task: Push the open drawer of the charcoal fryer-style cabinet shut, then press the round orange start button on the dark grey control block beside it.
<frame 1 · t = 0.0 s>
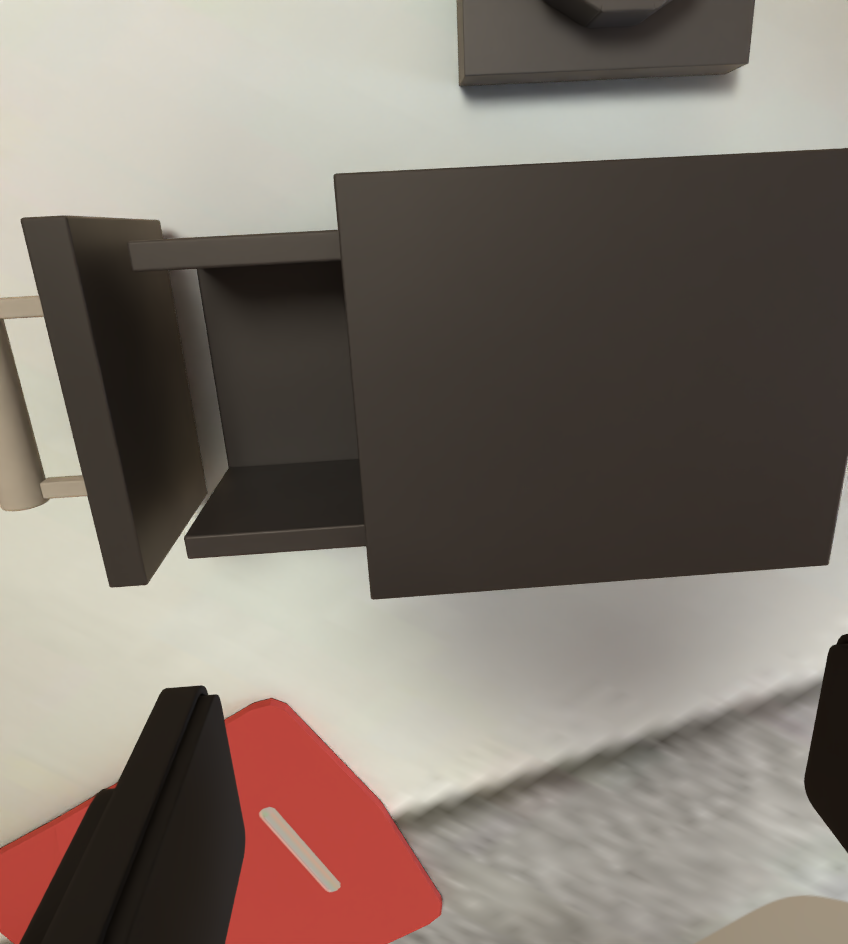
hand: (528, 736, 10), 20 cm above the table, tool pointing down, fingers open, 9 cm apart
desk lamp: (247, 863, 37), on the table
drawer: (255, 382, 23), point 5 cm above the table, slide at 7.0 cm
cabinet: (537, 341, 28), on the table
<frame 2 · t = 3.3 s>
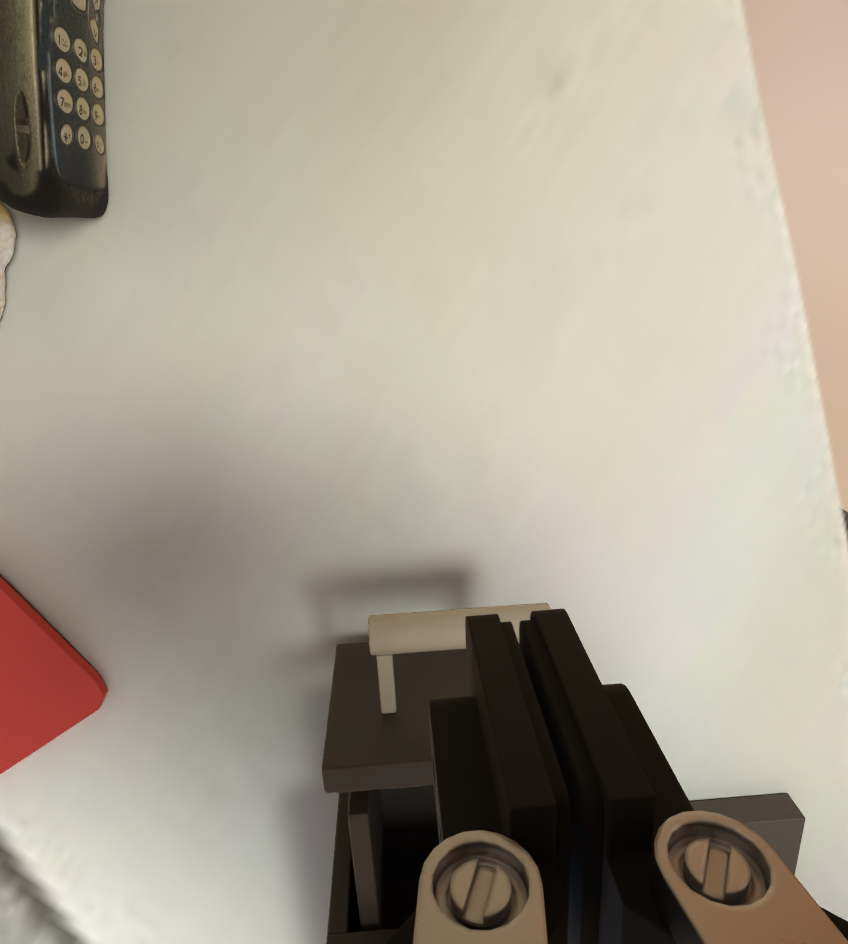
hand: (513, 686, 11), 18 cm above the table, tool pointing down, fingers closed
control block: (700, 865, 39), on the table
drawer: (463, 774, 29), point 5 cm above the table, slide at 7.0 cm
cabinet: (460, 860, 37), on the table
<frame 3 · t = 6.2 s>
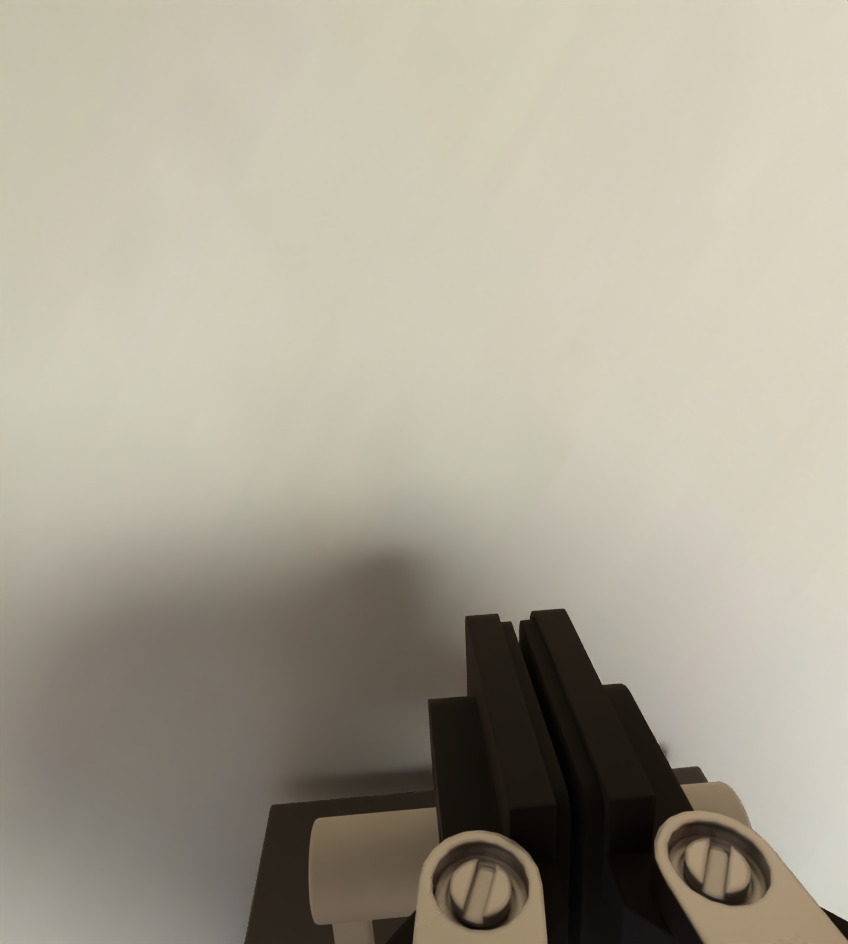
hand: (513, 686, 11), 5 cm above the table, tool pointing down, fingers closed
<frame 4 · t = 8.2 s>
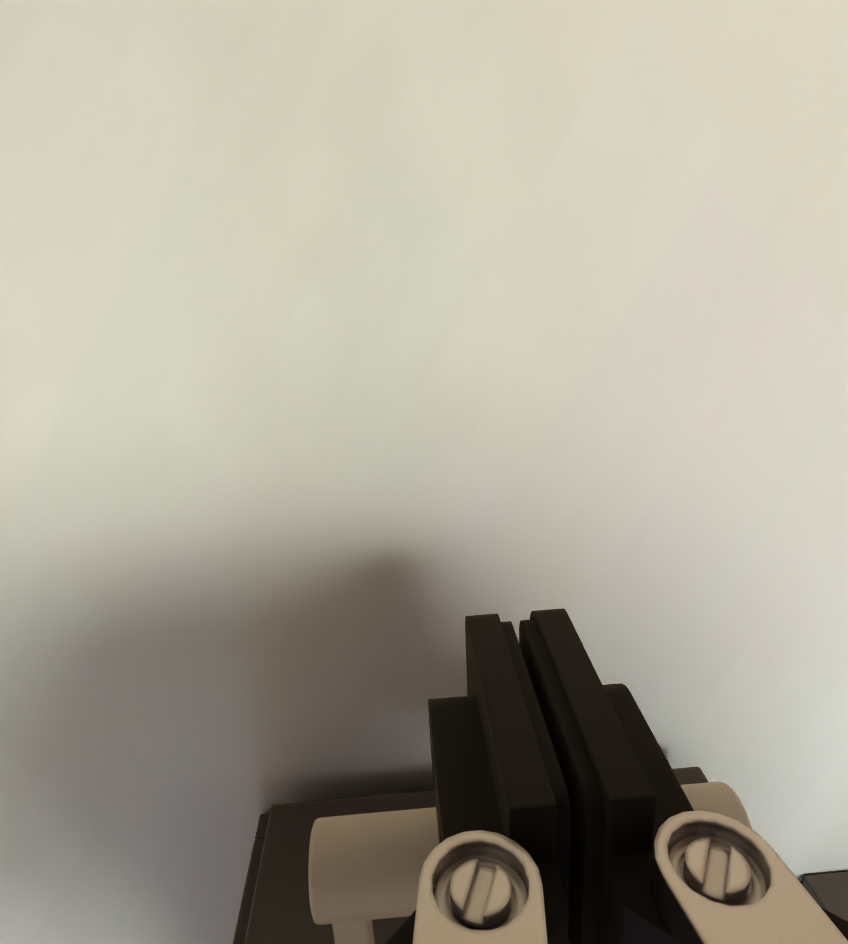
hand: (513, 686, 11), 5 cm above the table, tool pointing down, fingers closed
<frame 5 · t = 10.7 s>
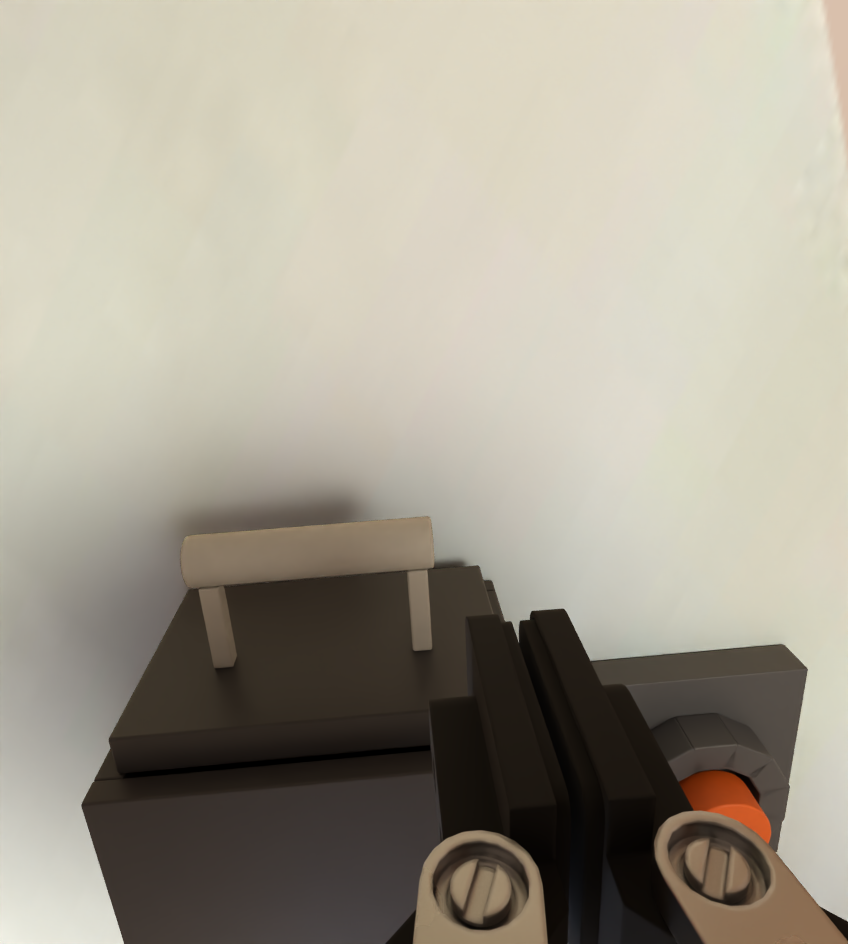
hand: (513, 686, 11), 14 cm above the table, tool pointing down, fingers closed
start button: (714, 821, 26), point 4 cm above the table, slide at 0.2 cm
control block: (672, 746, 30), on the table
drawer: (341, 750, 23), point 5 cm above the table, slide at 0.0 cm, touching cabinet
cabinet: (357, 739, 29), on the table
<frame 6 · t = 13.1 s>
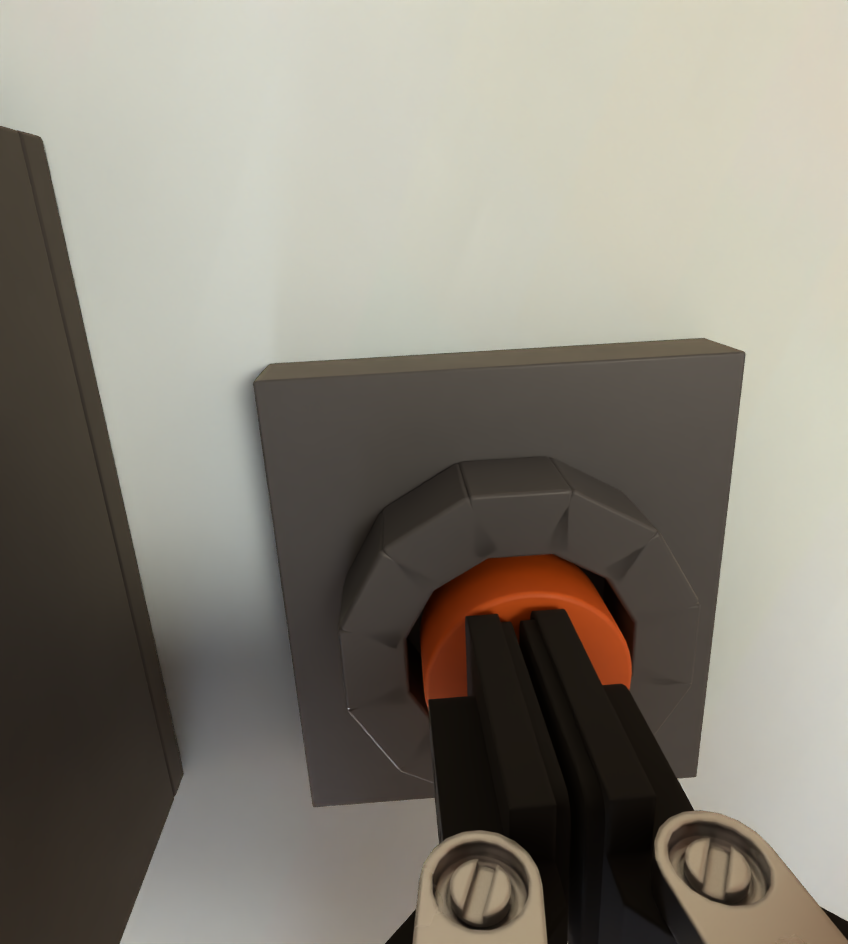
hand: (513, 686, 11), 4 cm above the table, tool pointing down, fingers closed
start button: (519, 654, 12), point 3 cm above the table, slide at -0.5 cm, touching gripper
control block: (492, 567, 15), on the table
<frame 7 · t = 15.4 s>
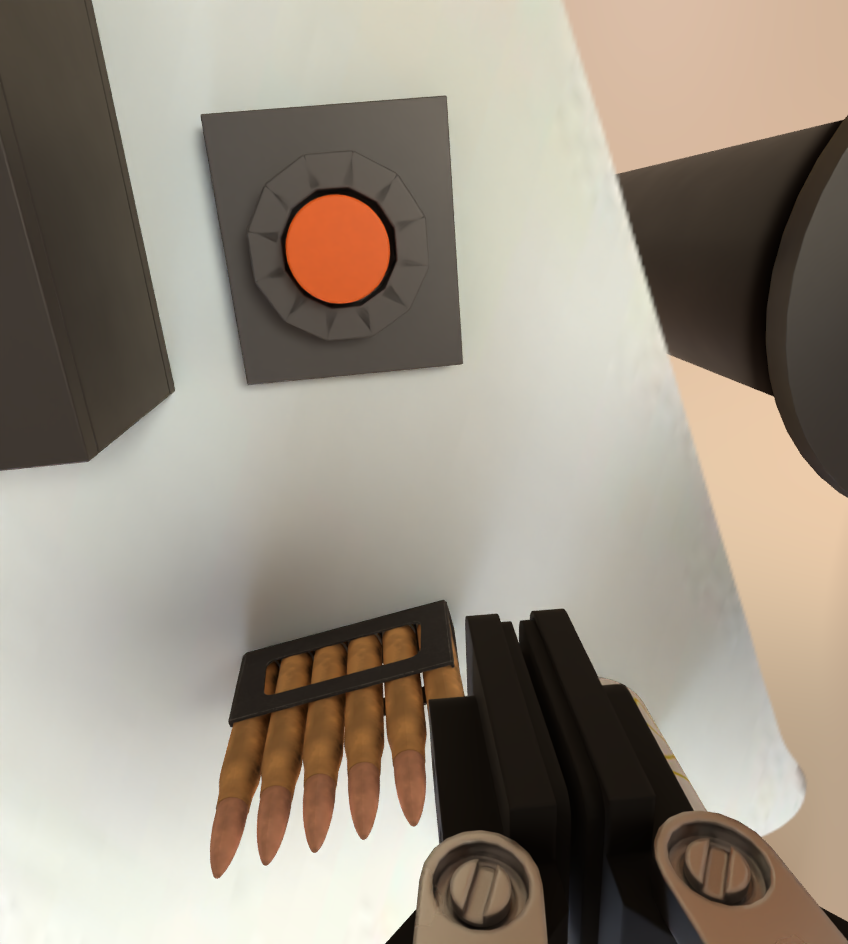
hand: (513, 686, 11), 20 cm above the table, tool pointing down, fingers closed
start button: (339, 250, 24), point 4 cm above the table, slide at 0.1 cm
white patterned cylinder: (578, 735, 37), on the table
control block: (342, 247, 27), on the table
ammunition clip: (349, 639, 34), on the table
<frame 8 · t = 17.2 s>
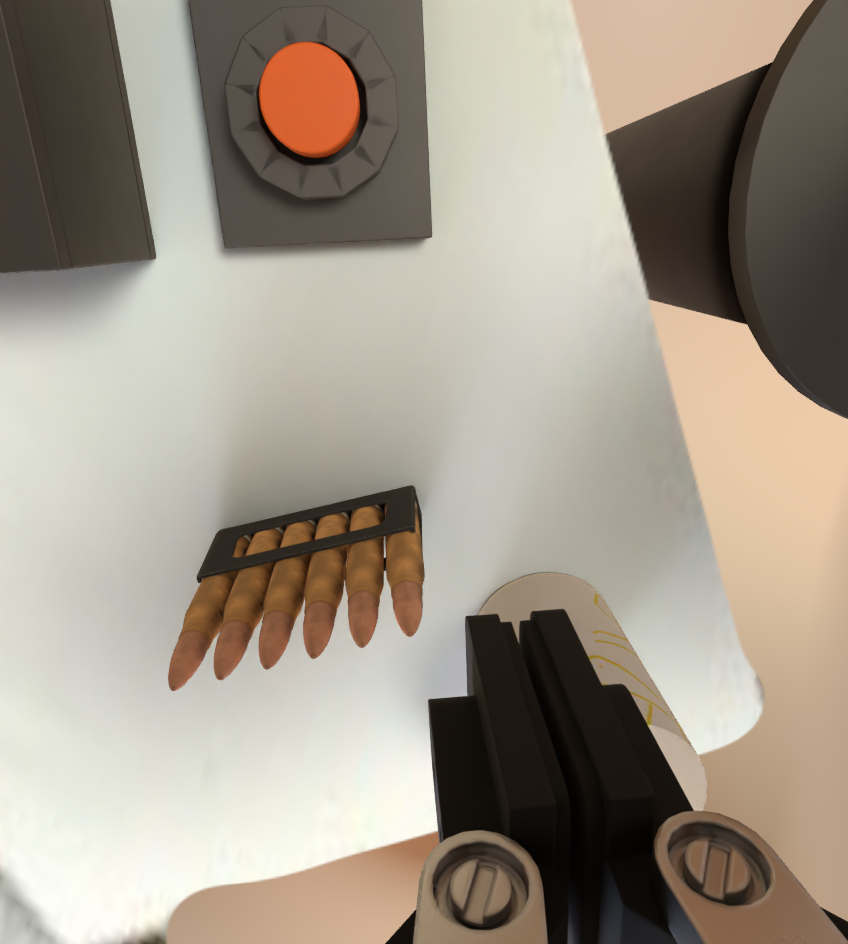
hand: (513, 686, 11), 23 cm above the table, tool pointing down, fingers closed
start button: (311, 103, 25), point 4 cm above the table, slide at 0.1 cm
white patterned cylinder: (541, 632, 38), on the table
control block: (320, 119, 29), on the table
ammunition clip: (320, 522, 35), on the table
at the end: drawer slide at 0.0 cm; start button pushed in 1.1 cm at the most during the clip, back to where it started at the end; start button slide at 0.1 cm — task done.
